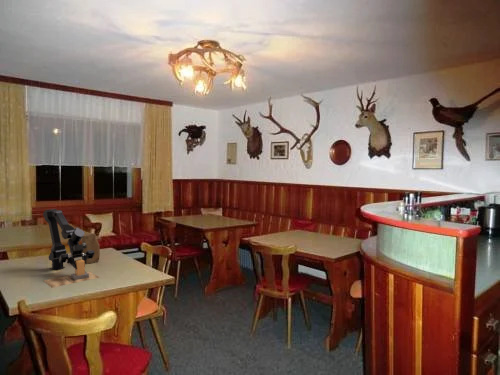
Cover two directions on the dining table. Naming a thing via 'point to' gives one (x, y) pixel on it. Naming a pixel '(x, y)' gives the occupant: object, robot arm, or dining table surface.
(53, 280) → the board
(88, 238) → the bread loaf
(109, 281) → the dining table surface
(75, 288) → the dining table surface
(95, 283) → the dining table surface
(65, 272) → the dining table surface
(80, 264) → the sanding block
